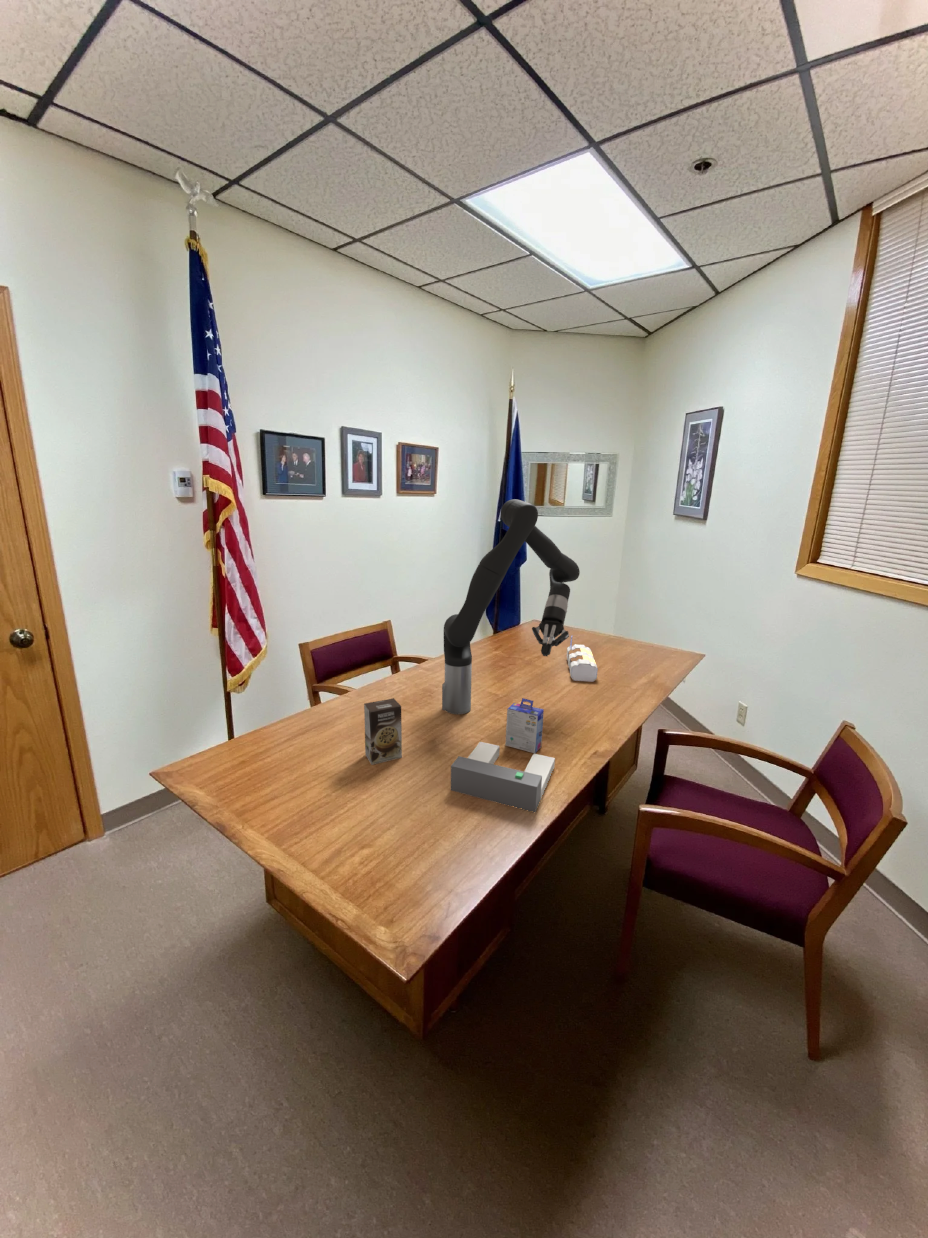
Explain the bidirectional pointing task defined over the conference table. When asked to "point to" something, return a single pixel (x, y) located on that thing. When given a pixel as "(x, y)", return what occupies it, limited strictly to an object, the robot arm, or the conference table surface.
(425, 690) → the conference table surface
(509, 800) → the charging dock
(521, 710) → the ink cartridge box
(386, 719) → the dessert mix box
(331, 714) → the conference table surface
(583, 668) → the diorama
